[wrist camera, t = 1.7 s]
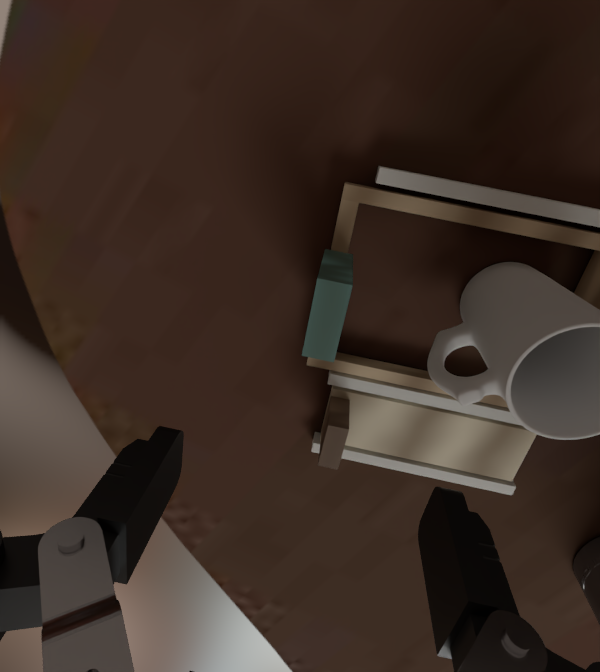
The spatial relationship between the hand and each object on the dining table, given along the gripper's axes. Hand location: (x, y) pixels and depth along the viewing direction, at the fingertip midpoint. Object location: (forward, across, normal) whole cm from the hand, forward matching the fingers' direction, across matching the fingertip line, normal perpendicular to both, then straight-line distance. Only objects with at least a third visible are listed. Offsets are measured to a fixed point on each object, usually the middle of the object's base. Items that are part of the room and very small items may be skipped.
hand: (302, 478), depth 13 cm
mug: (+21, -12, 0) cm, 24 cm away
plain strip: (+21, -10, +12) cm, 26 cm away
